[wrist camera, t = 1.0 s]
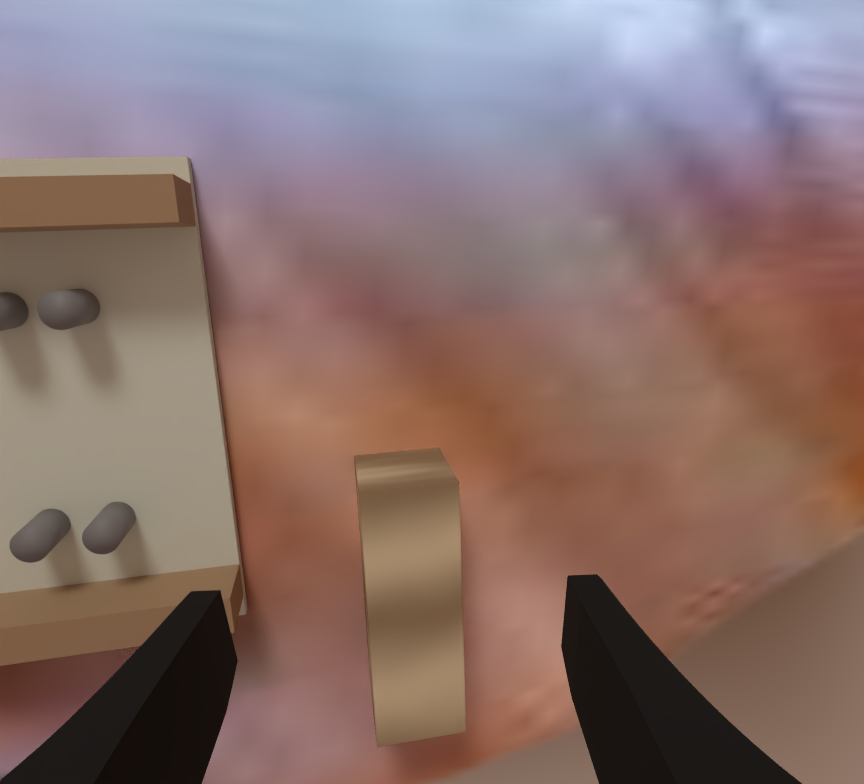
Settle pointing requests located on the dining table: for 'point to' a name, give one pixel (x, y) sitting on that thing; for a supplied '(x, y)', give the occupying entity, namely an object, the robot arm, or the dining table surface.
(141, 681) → the robot arm
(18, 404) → the peg plate
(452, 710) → the tan wooden block
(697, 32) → the dining table surface
